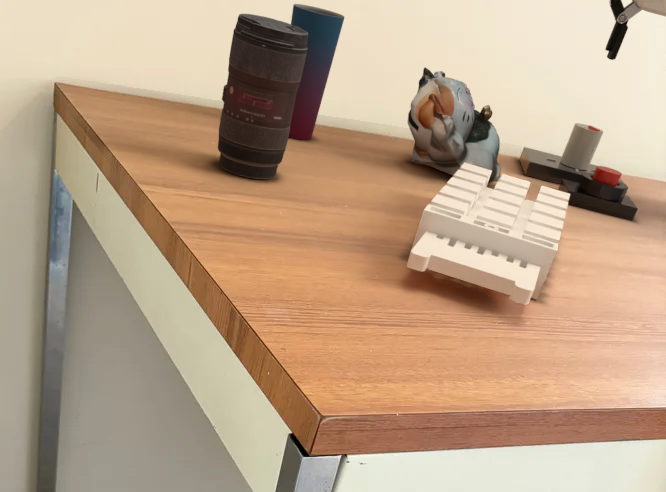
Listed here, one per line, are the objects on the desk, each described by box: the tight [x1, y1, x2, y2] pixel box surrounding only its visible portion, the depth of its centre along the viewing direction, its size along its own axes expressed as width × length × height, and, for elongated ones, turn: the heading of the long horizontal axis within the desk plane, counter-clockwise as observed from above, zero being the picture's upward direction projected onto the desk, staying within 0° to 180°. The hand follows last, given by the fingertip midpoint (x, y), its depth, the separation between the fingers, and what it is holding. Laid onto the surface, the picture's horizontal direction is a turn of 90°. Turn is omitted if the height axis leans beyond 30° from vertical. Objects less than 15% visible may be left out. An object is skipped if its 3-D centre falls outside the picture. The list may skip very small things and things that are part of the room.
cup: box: [288, 3, 345, 141], centre depth 111 cm, size 7×7×15 cm
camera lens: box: [217, 13, 308, 180], centre depth 91 cm, size 8×8×15 cm
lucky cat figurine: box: [407, 67, 502, 186], centre depth 113 cm, size 15×12×14 cm
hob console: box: [519, 146, 625, 185], centre depth 129 cm, size 15×11×2 cm
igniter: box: [557, 172, 639, 222], centre depth 117 cm, size 10×7×4 cm
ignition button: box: [592, 165, 623, 185], centre depth 116 cm, size 4×4×2 cm
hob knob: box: [560, 122, 604, 170], centre depth 126 cm, size 4×4×6 cm
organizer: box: [406, 162, 570, 306], centre depth 87 cm, size 13×5×35 cm
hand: (646, 67), depth 110 cm, fingers open, 9 cm apart
